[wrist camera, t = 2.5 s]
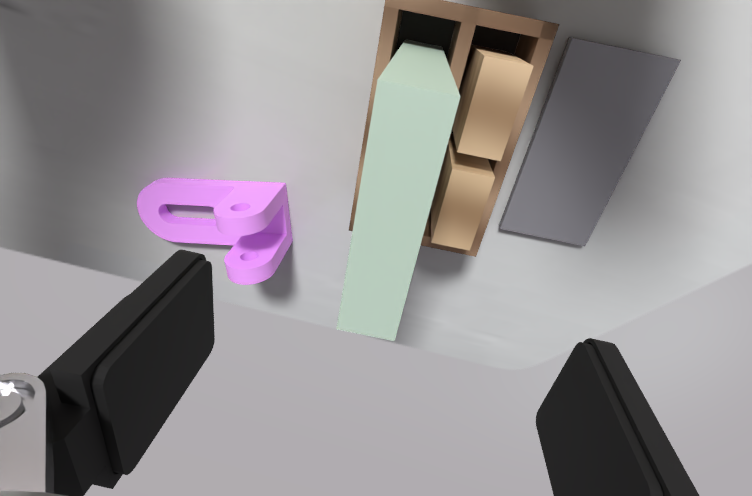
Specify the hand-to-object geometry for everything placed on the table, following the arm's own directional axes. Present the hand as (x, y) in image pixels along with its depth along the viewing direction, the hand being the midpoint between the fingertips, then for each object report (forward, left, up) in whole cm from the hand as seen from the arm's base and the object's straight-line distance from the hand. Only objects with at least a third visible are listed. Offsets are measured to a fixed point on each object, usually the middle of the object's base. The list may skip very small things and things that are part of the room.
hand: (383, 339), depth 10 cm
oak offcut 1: (-3, +4, -23) cm, 24 cm away
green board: (0, 0, -23) cm, 23 cm away
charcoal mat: (0, +12, -23) cm, 26 cm away
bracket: (+11, -15, -23) cm, 30 cm away
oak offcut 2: (+3, +4, -23) cm, 24 cm away
